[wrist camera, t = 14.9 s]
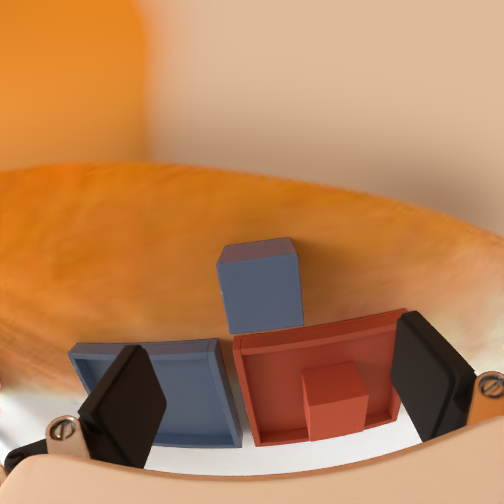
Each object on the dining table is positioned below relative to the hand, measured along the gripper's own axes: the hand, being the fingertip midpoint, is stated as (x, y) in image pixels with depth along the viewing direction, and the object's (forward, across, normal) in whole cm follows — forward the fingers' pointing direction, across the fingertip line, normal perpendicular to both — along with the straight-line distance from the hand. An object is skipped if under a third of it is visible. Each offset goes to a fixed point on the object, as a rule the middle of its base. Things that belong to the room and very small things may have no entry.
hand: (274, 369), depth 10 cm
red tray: (+11, -4, +11) cm, 16 cm away
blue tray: (+11, +12, +11) cm, 20 cm away
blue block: (+11, 0, 0) cm, 11 cm away
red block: (+11, -4, +11) cm, 16 cm away
